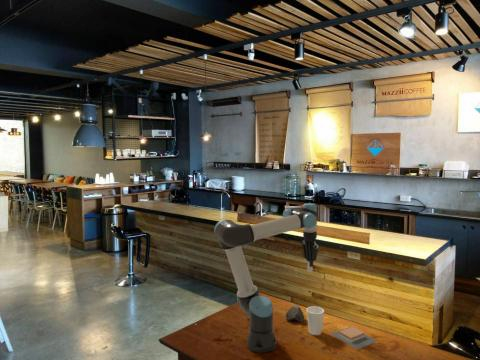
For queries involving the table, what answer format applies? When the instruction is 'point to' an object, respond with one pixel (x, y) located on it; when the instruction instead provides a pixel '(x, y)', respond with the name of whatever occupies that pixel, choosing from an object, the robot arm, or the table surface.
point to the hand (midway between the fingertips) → (309, 271)
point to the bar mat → (358, 343)
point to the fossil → (295, 314)
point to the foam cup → (315, 319)
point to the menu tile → (351, 334)
